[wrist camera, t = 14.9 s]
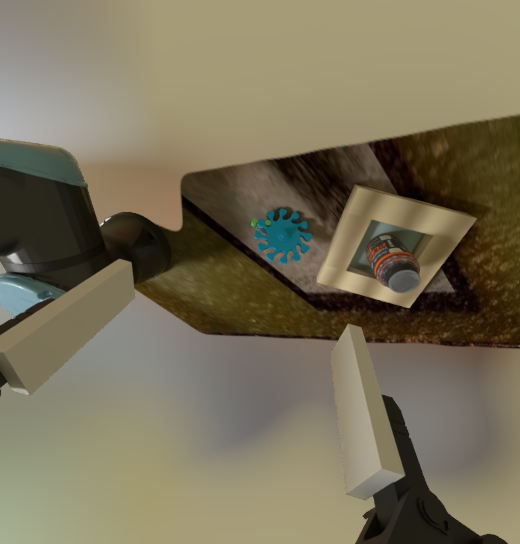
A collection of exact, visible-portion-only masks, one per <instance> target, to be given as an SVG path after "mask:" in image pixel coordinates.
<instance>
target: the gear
mask: <svg viewBox="0 0 520 544" xmlns="http://www.w3.org/2000/svg"><path fill="white" fill-rule="evenodd" d="M286 213H287V210H285V209H282V208H281V209H280V211H279V219H278V221H273V217H274V211H270V212H267V218H268V219H269V220H266V221H265V220H264V219H260V220H259V221H258V220H257V219H256V218H253V219H252V222H251V225H252V226H253V227H256V229H257V231H256V232H255V236H254V238H255V239H264V240H266V241H267V242H268V243H269V244H268V245H265V244H263V243H259V244H258V250H259V252H262V251H263V250H265V249H268V248H272V249H274V250H275V252H274V253H268V254H267V256H266V257H267V259H268V260H269V261H272V260H273V259H274V257H275V255H276V254H278V253H279V252H283V253H284V256H283V257H281V258H280V260H279V263H281V264H286V263H287V261H288V260H287V254H288V252H289V251H293V253H294V255H293V256H292V261H298V260H300V255H299V254H298V253H297V250H296V245H299V246H300V247H301V252H302V253H306V252H307V251H308V250H309V246H307V245H305V244H303V243H302V242H301V240H300V238H299V237H303V238H304V240H305V241H307V242H309V241H310V239H311V237H312V234H310V233H302V232H300V231H299V230H298V228H301V229H303V230H305V229H307V227H308V224H307V221H303V222H302V223H300V224H293V223H292V222H291V221H292V220H294V221H296V220H298V218H299V215H298V214H297V213H296V212H293V214H292V216H291V217H290V218H289V219H287V220H283V219H282V217H284V216H285V215H286ZM262 233H263V234H265V236H264V235H262Z"/></svg>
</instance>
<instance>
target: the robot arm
mask: <svg viewBox="0 0 520 544" xmlns="http://www.w3.org/2000/svg"><path fill="white" fill-rule="evenodd" d="M87 187H88V185H87V183H85V180H84V178H83V176H82V173H81V171H80V168H79V165H78V162H77V160H76V159H75V157H74V156H73V155H72V154H71V153H70V152H68V151H66V150H65V149H62V148H60V147H56V146H50V145H44V144H37V143H30V142H22V141H15V140H7V139H0V262H1V263H2V265H3V267H4V268H5V270H6V274H1V275H0V305H1V306H2V307H3V308H5V309H6V310H7V311H8V312H9V313H11V314H12V315H13V316H15V317H14V318H13V319H10V320H9V321H7V322H5V323H4V324H2V325H0V387H2V386H3V385H4V384H5V383H7V382H8V384H9V385H10V387H11V388H12V390H14V391H17V392H20V393H23V394H26V395H32V394H33V393H34V392H35V391H36V390H37V389H38V388H39V387H40V386H41V385H42V384H43V383H44V382H45V381H47V380H48V379H49V378H50V377H51V376H52V375H53V374H54V373H55V372H56V371H57V370H58V369H59V368H61V367H62V366H63V365H64V364H65V363H66V362H67V361H68V360H69V359H70V358H71V357H72V356H73V355H74V354H76V353H77V352H78V351H79V350H80V349H81V348H82V347H83V346H84V345H85V344H86V343H87V342H88V341H89V340H90V339H92V338H93V337H94V336H95V335H96V334H97V333H98V332H99V331H100V330H101V329H102V328H103V327H104V326H106V324H108V323H109V322H110V321H111V320H112V319H113V318H114V317H115V316H116V315H117V314H118V313H119V312H121V311H122V309H124V308H125V307H126V306H127V305H128V304H129V303H130V302H131V301H132V300H133V299H134V298H135V291H134V285H135V284H138V283H141V282H144V281H146V280H149V279H152V278H155V277H156V276H158V275H159V274H160V273H162V272H163V271H164V270H165V269H166V268H167V266H168V264H169V261H170V248H169V245H168V242H167V240H166V238H165V236H164V234H163V233H162V232H161V230H160V229H159V228H158V227H157V226H156V225H155V224H154V223H153V222H151V221H150V220H149V219H147V218H145V217H144V216H141V215H139V214H136V213H132V212H121V213H118V214H115V215H113V216H110V217H109V218H107V219H106V220H104V221H103V222H102V224H101V225H100V227H99V224H98V221H97V217H96V214H95V211H94V208H93V205H92V202H91V199H90V195H89V192H88V189H87ZM330 358H331V366H332V375H333V384H334V392H335V401H336V410H337V419H338V426H339V436H340V444H341V454H342V462H343V471H344V480H345V489H346V494H347V495H350V496H353V497H357V498H360V499H363V500H367V499H369V498H370V497H372V496H373V497H374V503H375V508H373V509H371V510H370V511H368V512H366V513H365V514H364V515H363V517H364V518H365V519H367V518H368V520H367V522H366V524H365V526H364V528H363V530H362V532H361V534H360V535H359V537H358V540H357V542H356V543H355V544H508V543H507V542H505V541H504V540H503V539H501V538H499V537H498V536H496V535H492V534H486V535H482V536H479V535H478V534H476V533H475V532H474V531H472V530H470V529H469V528H468V527H466V526H465V525H463V524H462V523H461V522H459V521H458V520H456V519H455V518H453V517H452V516H451V515H450V514H448V512H447V511H446V509H445V507H444V505H443V504H442V503H441V501H440V500H439V499H438V498H437V496H436V495H434V494H433V493H432V492H431V491H430V490H429V488H428V486H427V484H426V481H425V478H424V476H423V473H422V470H421V467H420V464H419V461H418V458H417V456H416V453H415V450H414V447H413V444H412V441H411V439H410V438H409V433H408V430H407V427H406V426H405V421H404V419H403V416H402V413H401V410H400V409H399V407H398V406H397V404H396V403H395V401H394V400H393V398H392V397H388V396H385V395H382V394H381V392H380V389H379V385H378V382H377V379H376V375H375V372H374V368H373V365H372V362H371V359H370V355H369V352H368V348H367V345H366V341H365V338H364V335H363V331H362V328H361V327H357V326H354V325H350V324H348V325H347V327H346V329H345V330H344V332H343V334H342V335H341V337H340V339H339V340H338V342H337V344H336V345H335V347H334V349H333V350H332V352H331V354H330ZM0 395H1V390H0Z"/></svg>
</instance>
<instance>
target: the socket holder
mask: <svg viewBox="0 0 520 544" xmlns="http://www.w3.org/2000/svg"><path fill="white" fill-rule="evenodd" d="M476 219H477V218H475V217H473V216H471V215H469V214H467V213H464V212H460V211H456V210H453V209H449V208H445V207H441V206H437V205H433V204H430V203H426V202H422V201H418V200H414V199H410V198H407V197H403V196H399V195H395V194H391V193H388V192H384V191H380V190H376V189H372V188H368V187H365V186H361V185H357V184H354V187H353V189H352V192H351V194H350V196H349V199H348V201H347V203H346V206H345V208H344V211H343V213H342V215H341V218H340V220H339V222H338V225H337V227H336V230H335V232H334V234H333V237H332V239H331V242H330V244H329V246H328V249H327V251H326V253H325V256H324V258H323V261H322V263H321V265H320V268H319V270H318V272H317V283H321V284H325V285H328V286H332V287H335V288H339V289H343V290H346V291H350V292H353V293H357V294H360V295H364V296H368V297H371V298H375V299H378V300H382V301H386V302H389V303H393V304H396V305H400V306H403V307H407V308H410V306H411V305H412V304H413V302H414V301H415V300H416V298H417V297H418V296H419V294H420V293H421V292H422V291H423V289H424V288H425V287H426V285H427V284H428V283H429V281H430V280H431V279H432V277H433V276H434V275H435V273H436V272H437V271H438V269H439V268H440V267H441V266H442V264H443V263H444V262H445V260H446V259H447V258H448V256H449V255H450V254H451V252H452V251H453V250H454V248H455V247H456V246H457V244H458V243H459V242H460V241H461V239H462V238H463V237H464V235H465V234H466V233H467V231H468V230H469V229H470V227H471V226H472V225H473V223H474V222H475V221H476ZM382 234H391V235H394V236H395V237H397V238H398V239H399V240H400V241H401V242H402V243H403V244H404V245H405V247H406V248H407V249H408V250H409V251H410V252H411V253H412V254H413V256H414V257H415V258H416V259H417V261H418V262H419V265H420V274H419V275H420V279H421V281H420V284H419V286H418V287H417V288H416V289H415V290H413V291H411V292H409V293H402V294H400V293H396V292H394V291H392V290H391V289H390V288H388V287H385V286H383V285H382V284H381V283H380V282H379V281H378V280H377V278H376V276H375V274H374V272H373V270H372V268H371V266H370V264H369V261H368V260H367V258H366V254H365V249H366V246H367V244H368V242H369V241H370V240H371V239H373V238H374V237H376V236H378V235H382Z"/></svg>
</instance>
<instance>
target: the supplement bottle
mask: <svg viewBox="0 0 520 544" xmlns="http://www.w3.org/2000/svg"><path fill="white" fill-rule="evenodd" d="M365 254H366V258H367V260H368V261H369V264H370V266H371V268H372V270H373V272H374V274H375V276H376V278H377V280H378V281H379V282H380V283H381V284H382V285H383V286H385V287H388V288H390V289H391V290H392V291H394V292H396V293H400V294H402V293H409V292H411V291H413V290H415V289H416V288H417V287H418V286H419V284H420V281H421V279H420V275H419V274H420V265H419V262H418V261H417V259H416V258H415V257H414V256H413V254H412V253H411V252H410V251H409V250H408V249H407V248H406V247H405V245H404V244H403V243H402V242H401V241H400V240H399V239H398V238H397V237H395V236H394V235H391V234H382V235H378V236H376V237H374V238H373V239H371V240H370V241H369V242H368V244H367V246H366V249H365Z"/></svg>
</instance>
